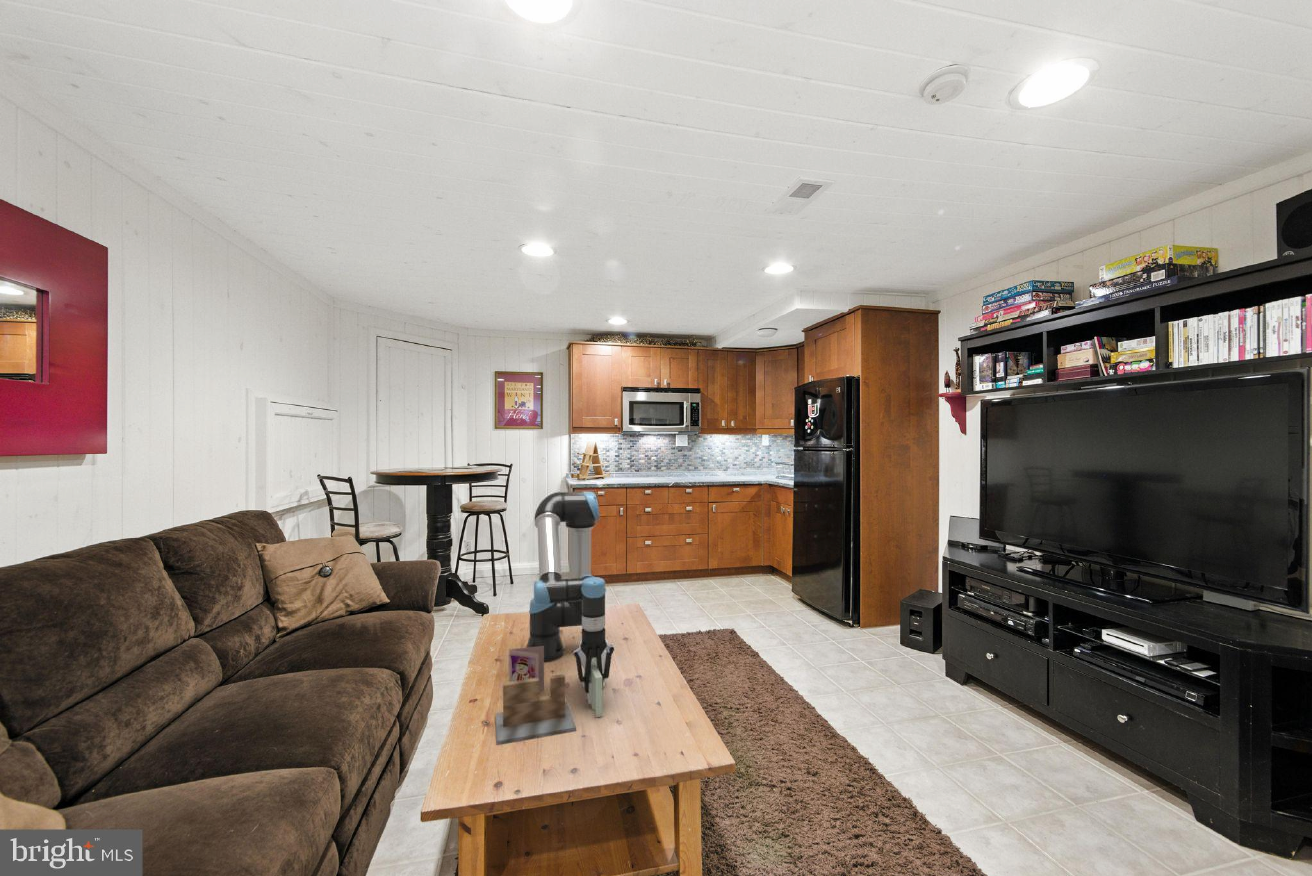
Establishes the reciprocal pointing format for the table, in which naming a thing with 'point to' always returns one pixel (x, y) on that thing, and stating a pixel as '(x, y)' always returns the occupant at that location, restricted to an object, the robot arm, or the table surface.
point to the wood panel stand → (533, 711)
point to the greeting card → (527, 664)
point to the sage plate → (596, 689)
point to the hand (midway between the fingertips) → (593, 701)
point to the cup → (583, 659)
